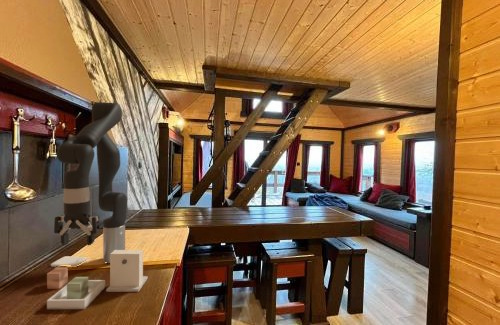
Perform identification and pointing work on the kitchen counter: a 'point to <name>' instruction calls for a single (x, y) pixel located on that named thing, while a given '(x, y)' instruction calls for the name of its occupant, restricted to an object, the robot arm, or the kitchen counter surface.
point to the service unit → (126, 271)
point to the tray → (63, 303)
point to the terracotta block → (57, 278)
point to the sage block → (77, 288)
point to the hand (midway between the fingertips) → (77, 244)
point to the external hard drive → (69, 261)
